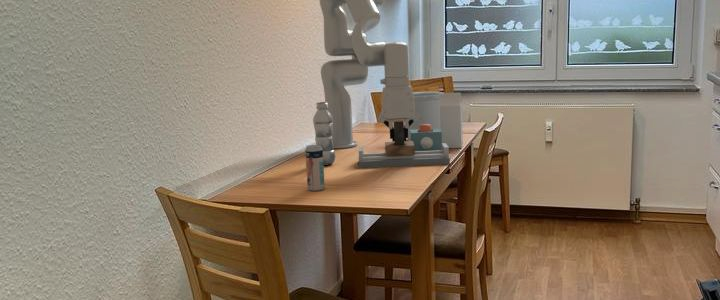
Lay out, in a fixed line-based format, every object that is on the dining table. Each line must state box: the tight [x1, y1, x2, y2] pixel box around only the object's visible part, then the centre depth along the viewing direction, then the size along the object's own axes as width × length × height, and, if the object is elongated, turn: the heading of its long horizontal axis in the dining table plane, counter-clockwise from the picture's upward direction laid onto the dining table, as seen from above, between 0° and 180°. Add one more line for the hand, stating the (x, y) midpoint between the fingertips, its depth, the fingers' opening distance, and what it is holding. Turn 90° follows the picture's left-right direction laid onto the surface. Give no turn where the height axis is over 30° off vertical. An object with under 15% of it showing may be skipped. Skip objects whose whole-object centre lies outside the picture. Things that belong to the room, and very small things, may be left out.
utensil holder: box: [407, 91, 444, 141], centre depth 268 cm, size 15×15×18 cm
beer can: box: [304, 144, 326, 192], centre depth 191 cm, size 5×5×12 cm
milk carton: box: [440, 92, 464, 149], centre depth 249 cm, size 7×7×19 cm
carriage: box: [384, 120, 415, 156], centre depth 224 cm, size 9×9×10 cm
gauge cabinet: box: [410, 128, 442, 151], centre depth 237 cm, size 10×8×8 cm
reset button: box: [419, 124, 431, 132], centre depth 236 cm, size 4×4×5 cm
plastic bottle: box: [312, 101, 336, 166], centre depth 226 cm, size 6×7×20 cm
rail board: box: [358, 143, 451, 169], centre depth 225 cm, size 28×12×5 cm, turn 89°
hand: (399, 140), depth 224 cm, fingers closed on carriage, 3 cm apart
